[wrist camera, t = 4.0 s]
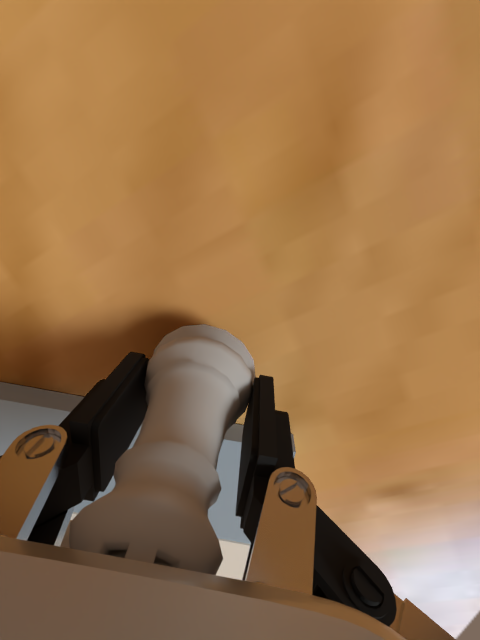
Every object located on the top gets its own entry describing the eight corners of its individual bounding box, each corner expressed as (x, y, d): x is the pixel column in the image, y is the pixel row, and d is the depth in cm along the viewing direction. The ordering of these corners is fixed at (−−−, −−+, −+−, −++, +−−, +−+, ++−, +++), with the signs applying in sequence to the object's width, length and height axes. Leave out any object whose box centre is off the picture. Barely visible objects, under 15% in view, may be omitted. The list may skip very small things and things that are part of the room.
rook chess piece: (178, 414, 13) (82, 670, 6) (138, 334, 12) (-57, 553, 5) (268, 394, 13) (279, 661, 5) (237, 306, 11) (194, 517, 4)
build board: (-4, 381, 15) (-28, 396, 14) (313, 437, 15) (318, 457, 13) (38, 607, 23) (25, 629, 21) (244, 644, 23) (243, 669, 21)
